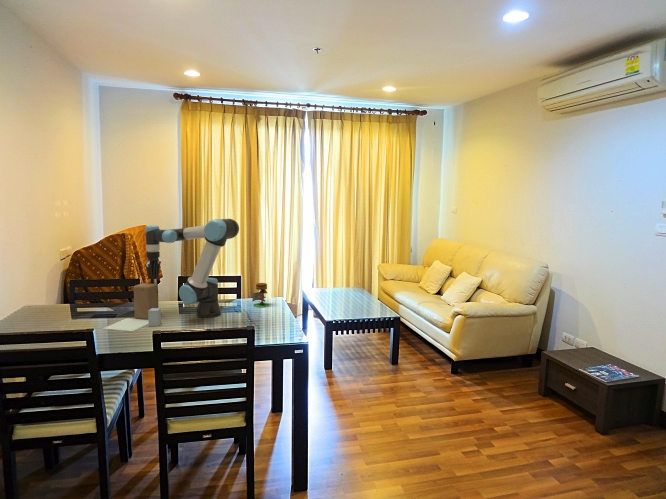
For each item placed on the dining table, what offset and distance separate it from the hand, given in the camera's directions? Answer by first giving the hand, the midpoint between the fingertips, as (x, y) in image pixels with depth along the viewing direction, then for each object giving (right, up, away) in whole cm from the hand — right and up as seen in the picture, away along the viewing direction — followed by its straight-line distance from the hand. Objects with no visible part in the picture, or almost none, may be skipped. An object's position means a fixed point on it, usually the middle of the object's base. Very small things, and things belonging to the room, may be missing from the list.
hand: (153, 289), depth 256 cm
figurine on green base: (+61, -14, +29) cm, 69 cm away
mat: (-4, -18, -22) cm, 28 cm away
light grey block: (+9, -18, -20) cm, 28 cm away
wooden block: (-2, -16, -6) cm, 18 cm away
